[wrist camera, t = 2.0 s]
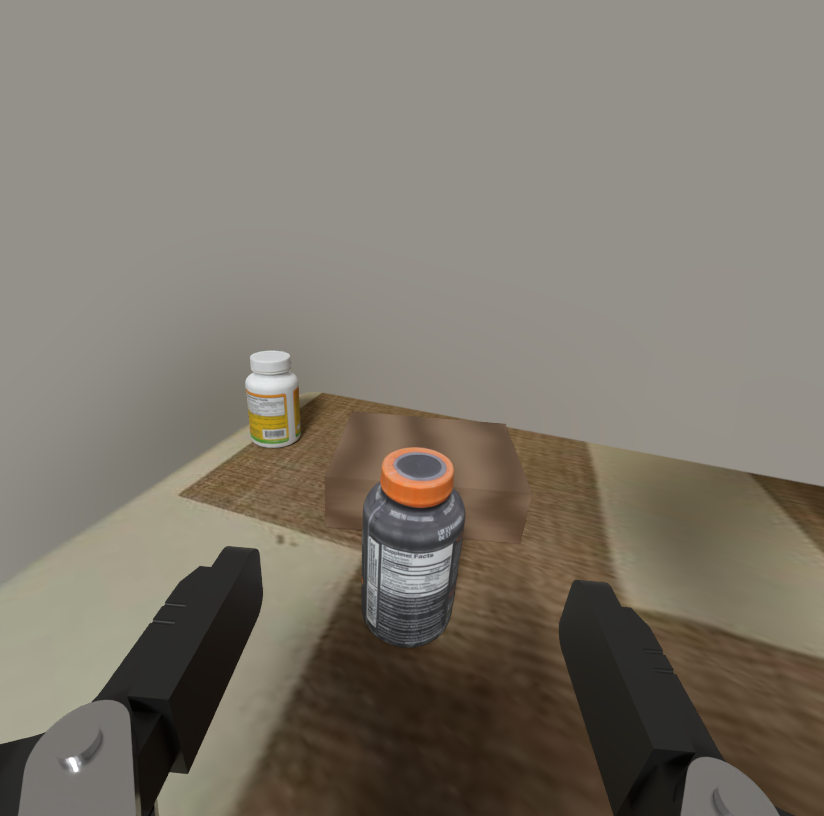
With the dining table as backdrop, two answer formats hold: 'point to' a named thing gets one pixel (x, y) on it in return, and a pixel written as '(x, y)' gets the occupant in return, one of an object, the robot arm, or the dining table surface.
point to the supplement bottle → (273, 400)
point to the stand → (456, 439)
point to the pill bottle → (411, 547)
